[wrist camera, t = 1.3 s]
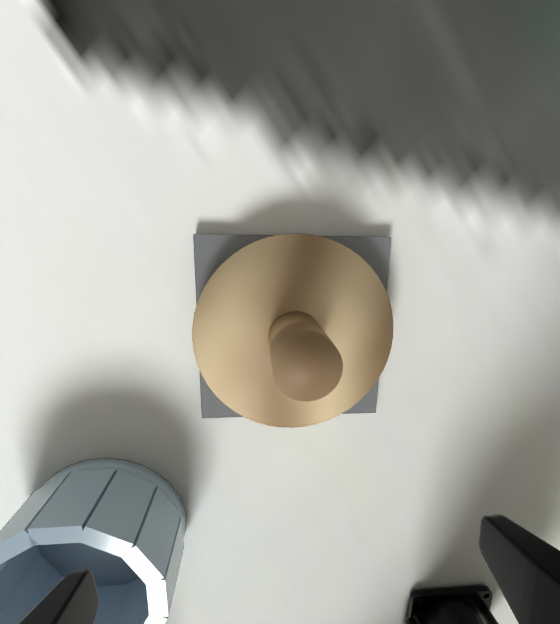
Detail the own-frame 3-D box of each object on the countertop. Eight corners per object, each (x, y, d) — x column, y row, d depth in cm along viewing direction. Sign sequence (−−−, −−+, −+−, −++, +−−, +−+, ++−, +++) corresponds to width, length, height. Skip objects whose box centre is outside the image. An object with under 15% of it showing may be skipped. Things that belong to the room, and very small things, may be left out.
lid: (393, 235, 18) (452, 234, 13) (376, 413, 21) (421, 477, 15) (191, 232, 17) (162, 229, 12) (200, 419, 20) (179, 488, 14)
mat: (387, 236, 19) (391, 237, 18) (372, 407, 21) (375, 412, 21) (195, 234, 18) (193, 234, 17) (203, 413, 20) (202, 418, 20)
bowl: (181, 455, 21) (160, 521, 16) (189, 576, 23) (172, 666, 18) (18, 461, 20) (-57, 533, 15) (43, 586, 22) (-16, 683, 18)
